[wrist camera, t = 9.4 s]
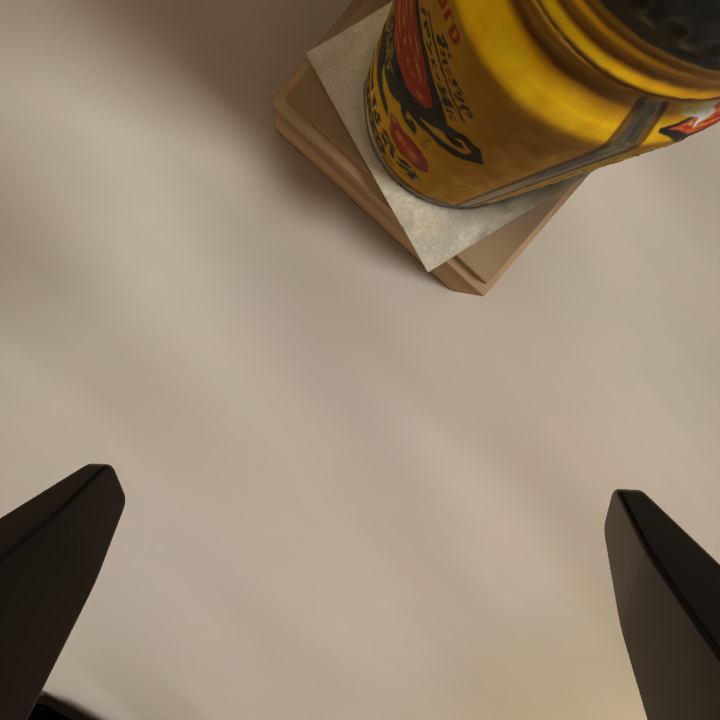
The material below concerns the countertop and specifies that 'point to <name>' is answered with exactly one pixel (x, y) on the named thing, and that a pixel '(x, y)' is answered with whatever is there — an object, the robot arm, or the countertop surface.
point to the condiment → (514, 100)
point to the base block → (351, 174)
